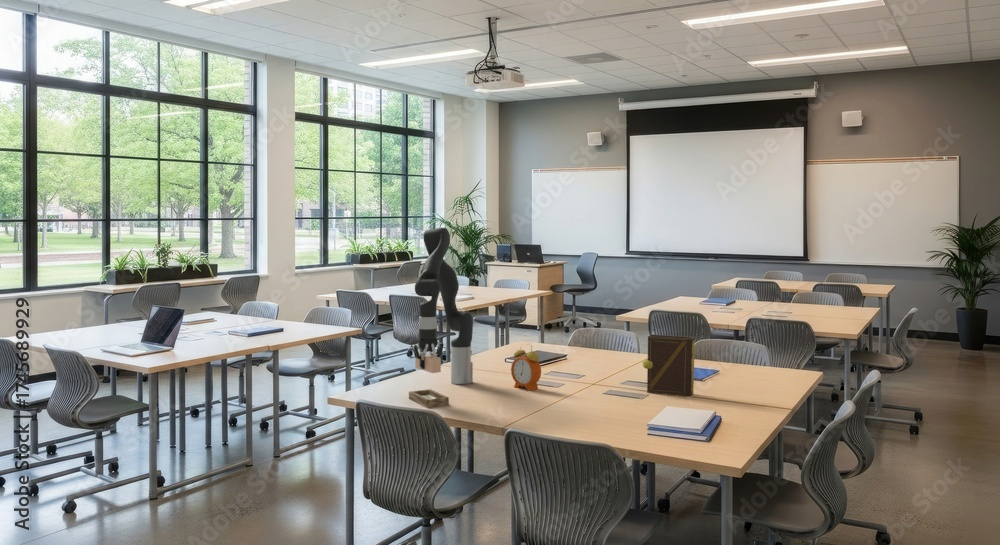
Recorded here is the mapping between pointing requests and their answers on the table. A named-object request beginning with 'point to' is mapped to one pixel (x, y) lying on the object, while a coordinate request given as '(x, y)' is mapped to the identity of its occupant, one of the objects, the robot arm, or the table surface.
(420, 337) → the robot arm
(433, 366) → the strip
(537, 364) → the alarm clock
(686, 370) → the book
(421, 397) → the picture frame
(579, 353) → the table surface
